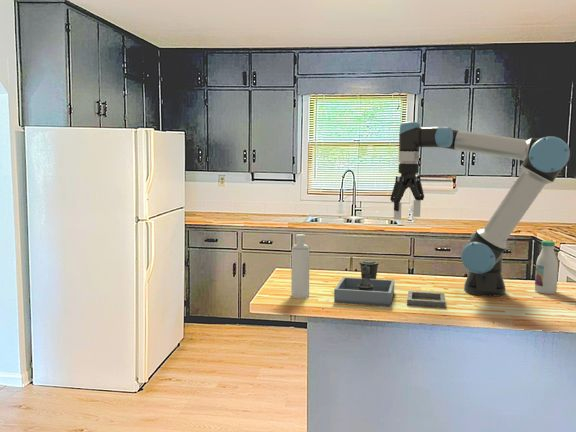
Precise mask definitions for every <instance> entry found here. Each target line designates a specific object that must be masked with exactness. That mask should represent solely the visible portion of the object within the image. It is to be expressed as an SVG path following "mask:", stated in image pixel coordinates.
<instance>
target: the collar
mask: <svg viewBox="0 0 576 432" xmlns="http://www.w3.org/2000/svg"><path fill="white" fill-rule="evenodd" d="M445 295H446V294H445V293H444V292H431V291H430V292H427V291H414V290H408V291H407V298H406V299H407V300H406V306H409V307H410V306H411V307H423V306H424V307H425V308H427V307H428V308H437V307H439V308H442V309H446V297H445ZM416 298H417V299H416ZM429 299H431V300H429ZM432 299H433V300H432ZM439 308H438V309H439Z"/></svg>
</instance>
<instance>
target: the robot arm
mask: <svg viewBox="0 0 576 432" xmlns="http://www.w3.org/2000/svg"><path fill="white" fill-rule="evenodd" d="M398 136H399V139H398V149H399V150H398V151H399V152H398V162H399V163H398V174H400V175H396V176H395V182H394V185H393V189H392V192H391V195H390V201H391V203H393V219H394V220H398V221H400V220H402V202H401V200H402V198H403V197H404V194H405V192H406V190H407V189H408V188H409V189H410V191H411V193H412V195H413V198H414V199H413V204H412V205H413V206H412V207H413V208H412V210H413V211H412V216H413V217H415V218H420V217H421V201H424V199H425V193H424V190H423V185H422V181H421V175H419V174H418V173H419V171H420V170H419V169H420V167H419V166H420V165H419V163H418V162H420V160H419V159H420V154H419V153H420V148H439V149H440V148H442V149H449V150H453V151H455V150H456V151H460V152H468V153H474V154H479V155H485V156H491V157H492V156H493V157H497V158H499V157H500V158H506V159H511V160H516V161H517V160H518V161H523V162H522V163H521V164H520V167H521V172H520V174H519V176H518V177H517V179H516V180H515V182H514V183H513V185H512V186H511V188H510V189H509V191H507V193H506V195H505V196H504V198H503V199H502V201H501V202H500V203H499V205H498V206H497V208H496V210H495V211H494V213H493V214H492V216H491V217H490V218H489V220H488V222H487V223H486V224H485V226H484V227H483V228H481V229H477V230H476V232H473V233H471V236H470V240H469V242H468V243H467V244H466V245H465V246H464V247H463V249H462V250H461V255H460V256H461V257H460V258H461V262H462V265H463V267H464V268H465V269H466V270H467V271H469V273H468V274H467V277H466V279H465V282H464V286H463V289H464V290H463V291H465V292H466V293H468V294H470V295H475V296H480V297H481V296H482V297H500V296H504V295H506V291H507V290H506V285H505V280H504V278H503V273H502V272H503V270H502V269H503V268H502V267H503V265H502V264H503V254H504V252H505V250H506V249H507V243H506V242H507V240H508V239H509V237H510V236H511V234H512V233H513V231H514V230H515V229H516V228H517V226H518V224H519V223H520V221H521V220H522V218H523V217H524V216H525V214H526V213H527V211H528V210H529V208H530V207H531V205H532V204H533V203H534V201H535V200H536V198H537V197H538V195H539V194H540V193H541V192H542V190H543V188H544V187H545V185H548V184H551V183H554V181H555V180H556V178H557V177H558V175H559V174H560V172H561V171H562V169H564V167H565V166H566V165H567V164H568V163H569V160H570V157H571V149H570V147H569V145H568V144H567V143H566V141H565V140H563V139H561V138H560V137H558V136H553V135H552V136H551V135H548V136H543V137H541V138H535V137H531V138H529V139H522V138H516V137H515V138H514V137H508V136H502V135H501V136H500V135H493V134H485V133H478V132H473V131H465V130H459V129H458V130H457V129H452V127H450V126H430V127H429V126H428V127H426V126H425V127H423V126H421V123H420V122H419V121H418V122H417V121H405V122H401V123H400V125H399V133H398Z"/></svg>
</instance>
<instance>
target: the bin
mask: <svg viewBox="0 0 576 432" xmlns="http://www.w3.org/2000/svg"><path fill="white" fill-rule="evenodd" d="M361 282H362V277H345V276H344V277H343V276H342V278H341V279H340V280H339V282H338V284H337V285H336V286H335V288H334V290H333V291H334V295H333V297H334V299H333V301H334V302H333V303H334V304H345V305H347V304H348V305H359V306H371V307H372V306H374V307H388V308H392V307H391V306H392V303H393V299H394V296H395V279H377V278H376V279H370V284H371V285H373V286H374V287H373V289H372V291H364V290H359V287H358V285H359V284H361Z"/></svg>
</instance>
